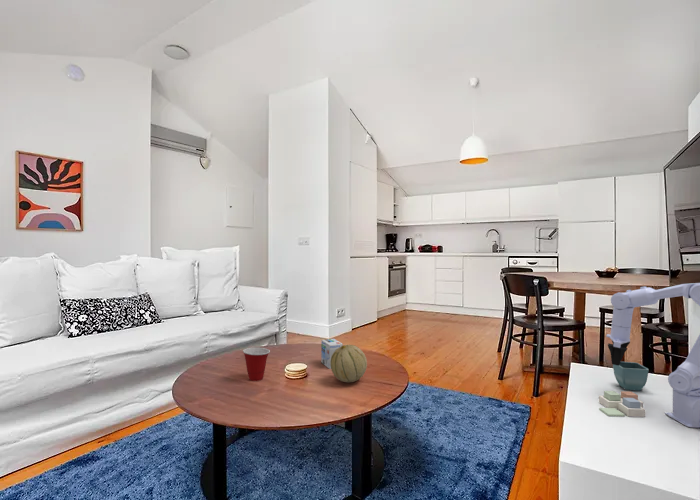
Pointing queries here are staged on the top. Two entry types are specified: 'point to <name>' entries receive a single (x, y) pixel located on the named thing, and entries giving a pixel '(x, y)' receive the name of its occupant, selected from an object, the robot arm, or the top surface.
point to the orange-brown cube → (628, 395)
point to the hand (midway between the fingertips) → (616, 361)
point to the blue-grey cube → (631, 403)
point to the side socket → (631, 411)
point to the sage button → (612, 396)
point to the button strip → (612, 402)
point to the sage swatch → (611, 412)
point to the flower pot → (631, 375)
